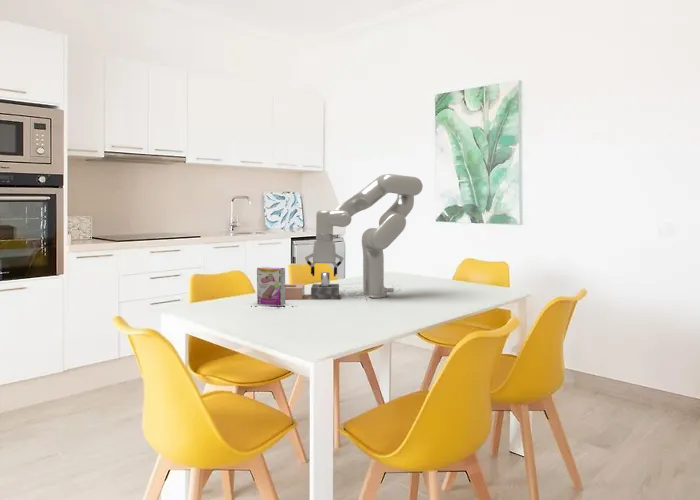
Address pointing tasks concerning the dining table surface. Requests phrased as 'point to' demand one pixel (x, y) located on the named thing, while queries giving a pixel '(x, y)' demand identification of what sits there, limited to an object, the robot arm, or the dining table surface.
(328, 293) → the mount board
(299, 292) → the socket block
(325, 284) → the pin
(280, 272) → the candy bar box
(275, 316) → the dining table surface
